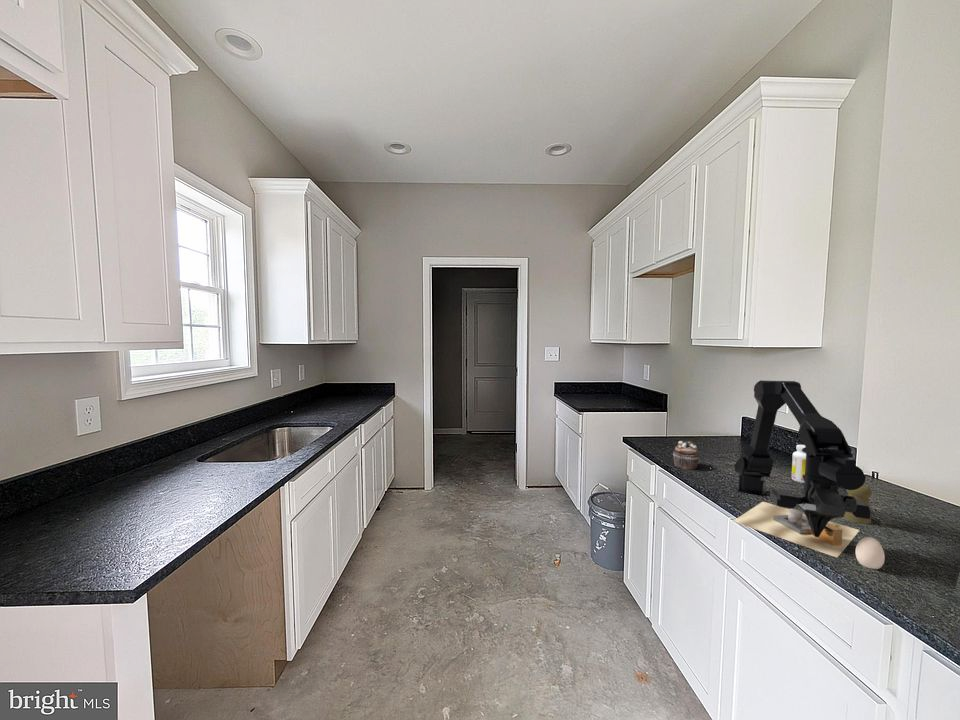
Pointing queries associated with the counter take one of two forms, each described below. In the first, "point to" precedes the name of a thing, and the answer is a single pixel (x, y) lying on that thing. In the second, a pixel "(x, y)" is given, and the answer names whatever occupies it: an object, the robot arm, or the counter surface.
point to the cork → (863, 496)
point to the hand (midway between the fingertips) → (815, 536)
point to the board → (764, 522)
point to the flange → (828, 534)
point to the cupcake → (686, 455)
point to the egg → (870, 553)
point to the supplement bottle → (798, 464)
